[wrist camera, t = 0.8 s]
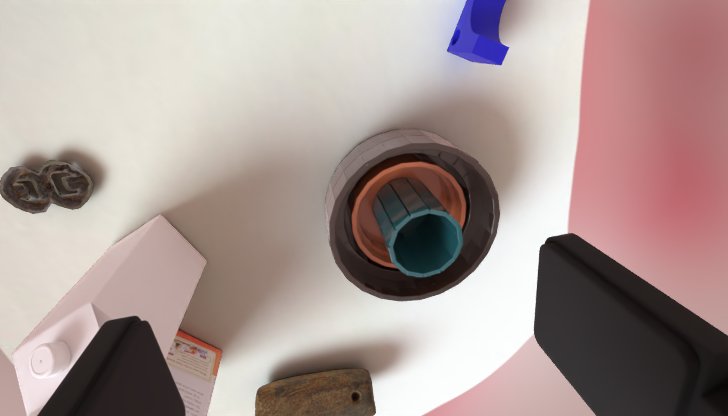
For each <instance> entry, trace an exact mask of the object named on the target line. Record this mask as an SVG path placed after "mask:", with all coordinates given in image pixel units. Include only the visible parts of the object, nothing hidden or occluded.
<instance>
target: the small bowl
mask: <svg viewBox="0 0 728 416" xmlns="http://www.w3.org/2000/svg"><path fill="white" fill-rule="evenodd" d="M401 177H410V178H414V179H417V180H419V181H421V182H423V183H424V185H426V187H427V188H428V189H429V190H430V191H431V192H432V193H433V194H434V195H435V196H436V197H437V199H438V200H439V201H440V202H441V203H442V204H443V205H444V207H445V208H446V209H447V210H448V211H449V212H450V213H451V215H452V216H453V217H454V218H455V219H456V220H457V221H458V223H459V224H460V226H461V229H462V227H463V225H464V222H465V214H466V202H465V198H464V194H463V190H462V188H461V187H460V185H459V184H458V182H457V181H456V180H455V178H454V177H453V176H452V175H451V174H450V173H449V172H448V171H447V170H446V169H444V168H443V167H442V166H441V165H439V164H438V163H436V162H435V161H434V160H432V159H431V158H428V157H426V156H422V155H418V154H414V153H412V154H401V155H398V156H394V157H391V158H387V159H386V160H384V161H382V162H380V163H379V164H377V165H375V166H373V167H372V168H370V169H369V170H368V171H367V172H366V173H365V174H364V175H363V176H362V177H361V178H360V179H359V180H358V181H357V183H356V185H355V186H354V188H353V190H352V192H351V195H350V199H349V202H348V211H349V221H350V225H351V228H352V232H353V235H354V237H355V239H356V242H357V244H358V246H359V248H360V249H361V250H362V251H363V252H364V253H365V254H366V255H367V256H368V257H369V258H370V259H371V260H373V261H375V262H377V263H379V264H381V265H383V266H386V267H392V268H397V267H396V266H394V265H393V263H392V262H391V259H390V257H389V254H388V252H387V250H386V247H385V245H384V242H383V240H382V238H381V235H380V233H379V230H378V228H377V226H376V223H375V220H374V216H373V212H372V205H373V200H374V198H375V195H376V194H377V192H378V191H379V189H380V188H381V187H382V186H383V185H385V184H386V183H387V182H389V181H391V180H393V179H396V178H401Z"/></svg>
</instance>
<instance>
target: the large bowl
mask: <svg viewBox="0 0 728 416" xmlns="http://www.w3.org/2000/svg"><path fill="white" fill-rule="evenodd" d="M412 153H414V154H418V155H422V156H426V157H428V158H431V159H432V160H434V161H435V162H436V163H438V164H439V165H441V166H442V167H443V168H444V169H446V170H447V171H448V172H449V173H450V174H451V175H452V176H453V177H454V178H455V180H456V181H457V182H458V184H459V185H460V187H461V188H462V190H463V194H464V198H465V202H466V214H465V222H464V225H463V227H462V236H463V242H462V243H463V245H462V247H461V250H460V252H459V254H458V257H457V259H456V258H455V261H454V262H453V263H452V264H451V265H449V266H448V267H447V268H446V269H445V270H444V271H441V273H437V274H434V275H431V276H427V277H416V276H410V275H406V274H404V273H403V272H401V271H400V270H399V269H398V268H392V267H386V266H383V265H381V264H379V263H377V262H375V261H373V260H371V259H370V258H369V257H368V256H367V255H366V254H365V253H364V252H363V251H362V250H361V249H360V248H359V246H358V244H357V242H356V239H355V237H354V235H353V232H352V228H351V225H350V221H349V211H348V202H349V199H350V195H351V192H352V190H353V188H354V186H355V185H356V183H357V181H358V180H359V179H360V178H361V177H362V176H363V175H364V174H365V173H366V172H367V171H368V170H369V169H370V168H372V167H373V166H375V165H377V164H379V163H380V162H382V161H384V160H386V159H387V158H391V157H394V156H398V155H401V154H412ZM325 211H326V223H327V230H328V237H329V244H330V247H331V250H332V253H333V256H334V259H335V262H336V264H337V265H338V267H339V268H340V270H341V271H342V272H343V274H344V275H345V277H346V278H347V279H348V280H349V281H350V282H352V283H353V284H354V285H356V286H357V287H358V288H359V289H361V290H362V291H364V292H366V293H369V294H371V295H373V296H376V297H378V298H381V299H387V300H394V301H412V300H422V299H425V298H428V297H432V296H435V295H438V294H441V293H443V292H445V291H447V290H449V289H451V288H452V287H454V286H456V285H458V284H459V283H461V282H462V281H463V280H464V279H465V278H467V277H468V276H469V275H470V274H471V273H472V272H474V271H475V270H476V268H477V267H478V266H479V264H480V263H481V262H482V261H483V259H484V258H485V257H486V255H487V254H488V252H489V250H490V248H491V245H492V243H493V241H494V239H495V237H496V234H497V228H498V222H499V217H500V210H499V200H498V194H497V191H496V189H495V187H494V184H493V182H492V179H491V177H490V175H489V174H488V173H487V172H486V171H485V169H484V168H483V167H482V166H481V165H480V164H479V162H478V161H477V160H476V159H474V158H473V157H471V156H470V155H468V154H467V153H465V152H464V151H462V150H461V149H459V148H458V147H456V146H455V145H453V144H452V143H450V142H448V141H447V140H445V139H444V138H442V137H440V136H439V135H437V134H433V133H430V132H426V131H422V130H419V129H397V130H392V131H389V132H385V133H382V134H378V135H375V136H373V137H371V138H370V139H368V140H366V141H365V142H363V143H361V144H359V145H358V146H356V147H355V148H354V149H353V150H352V151H351V152H350V153H349V154H348V155H347V156H346V157H345V158H344V159H343V160H342V161H341V162H340V164H339V166H338V168H337V169H336V171H335V173H334V174H333V176H332V178H331V180H330V183H329V187H328V191H327V194H326V198H325Z"/></svg>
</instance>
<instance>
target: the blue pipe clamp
mask: <svg viewBox="0 0 728 416" xmlns="http://www.w3.org/2000/svg"><path fill="white" fill-rule="evenodd" d="M505 1H506V0H467V1H466V4H465V6H464V9H463V11H462V14H461V16H460V19H459V22H458V24H457V27H456V29H455V32H454V34H453V37H452V39H451V42H450V44H449V47H448V49H447V52H450V53H452V54H455V55H457V56H460V57H462V58H464V59H467V60H469V61H472V62H478V63H486V64H495V65H502V62H503V60H504V58H505V56H506V53H507V51H508V49H509V47H507V46H505V45H502V43H501V42H500V39H499V21H500V17H501V13H502V9H503V6H504V4H505Z"/></svg>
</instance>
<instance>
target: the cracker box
mask: <svg viewBox="0 0 728 416" xmlns="http://www.w3.org/2000/svg"><path fill="white" fill-rule="evenodd" d="M221 355H222V351H221V350H219V349H217V348H215V347H213V346H210V345H208V344H206V343H204V342H202V341H200V340H198V339H196V338H194V337H192V336H190V335H188V334H186V333H183V332H181V331H179V330H178V331H177V334H176V336H175V338H174V341H173V343H172V345H171V348H170V350H169V353H168V355H167V357H166V363H167V365H168V367H169V370H170V372H171V374H172V377H173V379H174V381H175V384H176V386H177V388H178V391H179V393H180V395H181V398H182V400H183V402H184V405H185V410H186V416H207V413H208V409H209V405H210V401H211V397H212V393H213V389H214V384H215V380H216V376H217V372H218V368H219V364H220V360H221Z"/></svg>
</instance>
